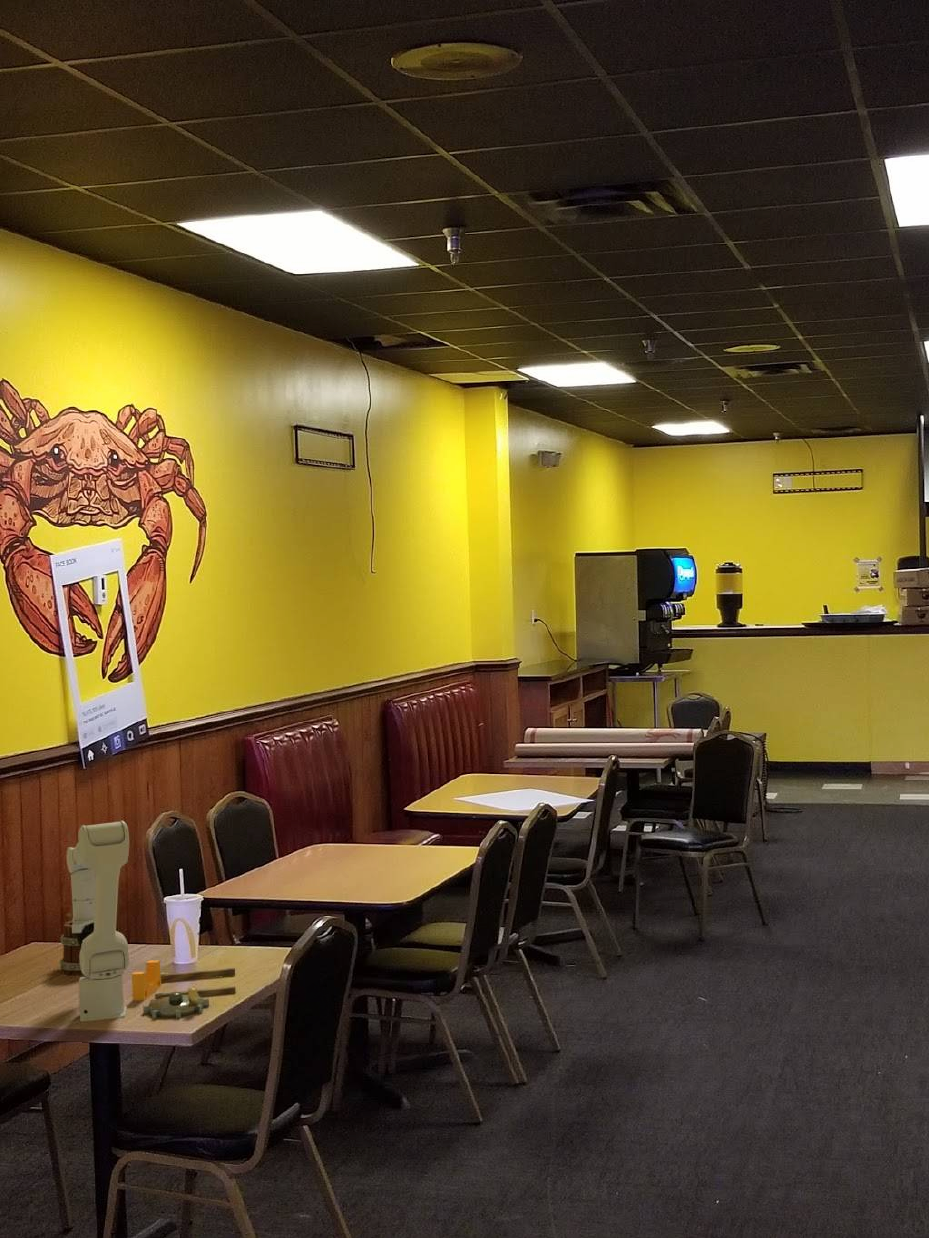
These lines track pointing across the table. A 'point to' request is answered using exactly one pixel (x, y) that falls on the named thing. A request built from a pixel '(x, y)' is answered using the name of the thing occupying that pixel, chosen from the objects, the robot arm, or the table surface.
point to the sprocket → (176, 1005)
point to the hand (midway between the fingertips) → (88, 956)
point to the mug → (70, 949)
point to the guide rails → (199, 975)
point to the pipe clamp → (146, 980)
